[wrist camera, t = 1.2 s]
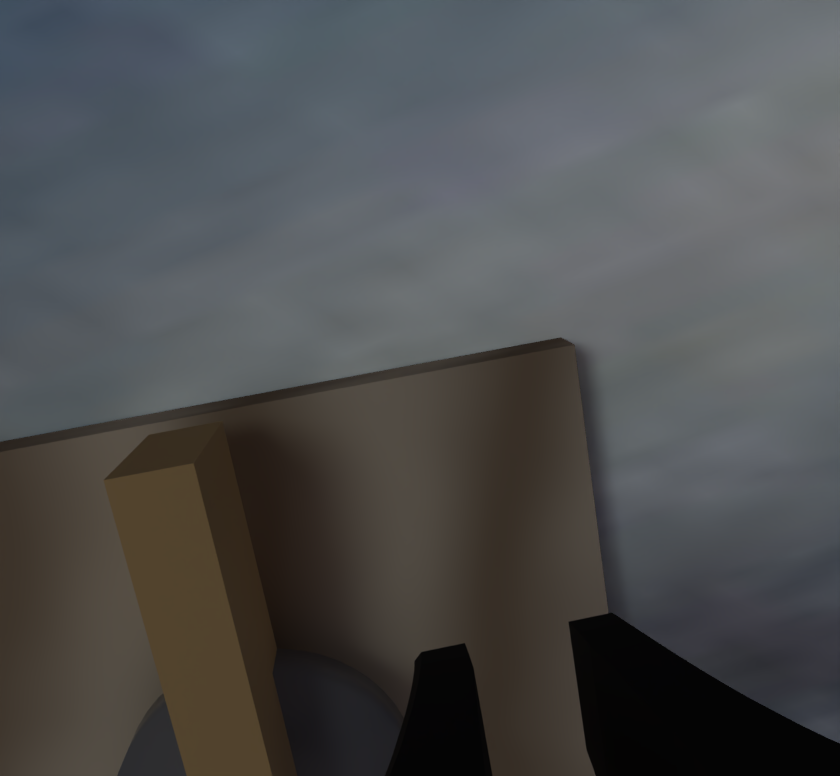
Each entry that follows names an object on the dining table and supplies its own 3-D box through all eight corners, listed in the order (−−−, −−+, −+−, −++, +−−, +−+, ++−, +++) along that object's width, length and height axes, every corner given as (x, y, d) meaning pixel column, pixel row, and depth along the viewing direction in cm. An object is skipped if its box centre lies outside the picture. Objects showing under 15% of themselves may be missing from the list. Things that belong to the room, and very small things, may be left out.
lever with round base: (438, 865, 19) (454, 981, 16) (165, 925, 19) (130, 1054, 16) (344, 398, 16) (343, 434, 13) (22, 457, 16) (-52, 509, 13)
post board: (560, 337, 19) (584, 350, 17) (635, 911, 23) (662, 974, 21) (-166, 473, 18) (-230, 502, 16) (43, 1045, 22) (13, 1125, 20)
